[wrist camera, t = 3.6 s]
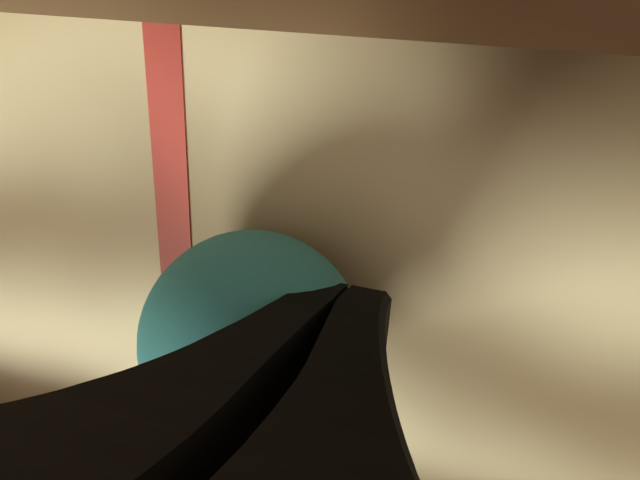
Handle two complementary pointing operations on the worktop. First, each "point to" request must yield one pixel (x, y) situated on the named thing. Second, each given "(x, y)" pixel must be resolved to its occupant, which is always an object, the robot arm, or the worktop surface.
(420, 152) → the lane
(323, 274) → the ball
